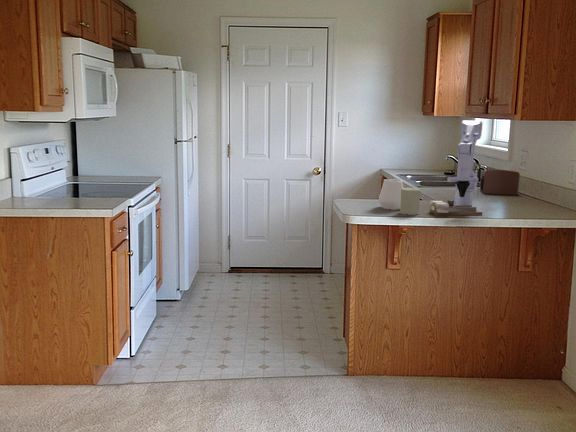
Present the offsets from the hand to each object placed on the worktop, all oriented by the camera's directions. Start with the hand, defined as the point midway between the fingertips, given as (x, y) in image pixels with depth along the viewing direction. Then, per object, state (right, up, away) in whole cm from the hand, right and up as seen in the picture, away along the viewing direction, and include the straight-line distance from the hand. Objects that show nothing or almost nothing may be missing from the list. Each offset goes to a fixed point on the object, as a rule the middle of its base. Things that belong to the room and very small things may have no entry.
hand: (461, 197), depth 306 cm
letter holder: (+41, +4, +71) cm, 82 cm away
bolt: (-9, -6, -1) cm, 11 cm away
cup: (-31, -5, +13) cm, 34 cm away
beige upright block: (-25, -8, 0) cm, 26 cm away
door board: (-3, -8, +1) cm, 8 cm away
